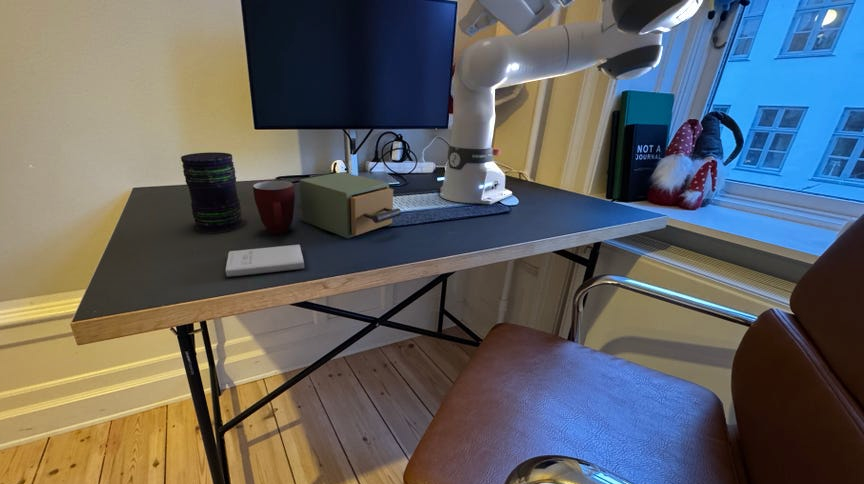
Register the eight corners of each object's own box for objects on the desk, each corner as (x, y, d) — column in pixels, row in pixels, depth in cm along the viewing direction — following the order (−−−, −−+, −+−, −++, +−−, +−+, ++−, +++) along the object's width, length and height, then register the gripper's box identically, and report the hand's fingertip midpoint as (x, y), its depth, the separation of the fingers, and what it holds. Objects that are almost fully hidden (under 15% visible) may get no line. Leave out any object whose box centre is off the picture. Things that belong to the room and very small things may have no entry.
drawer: (407, 227, 80) (408, 192, 76) (370, 241, 72) (370, 203, 69) (349, 209, 91) (348, 177, 88) (311, 219, 84) (309, 185, 80)
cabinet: (388, 224, 84) (389, 182, 80) (347, 238, 76) (346, 192, 72) (343, 209, 94) (341, 171, 90) (302, 220, 85) (299, 179, 81)
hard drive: (304, 270, 63) (226, 278, 59) (300, 251, 70) (230, 257, 66) (303, 261, 62) (224, 269, 59) (299, 243, 69) (228, 249, 66)
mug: (305, 238, 76) (301, 190, 71) (265, 244, 72) (258, 194, 68) (292, 223, 84) (288, 179, 80) (256, 227, 81) (249, 182, 76)
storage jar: (185, 227, 80) (169, 157, 73) (222, 215, 88) (210, 150, 81) (217, 236, 76) (202, 162, 69) (252, 222, 84) (243, 155, 77)
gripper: (539, -66, 40) (437, 27, 48) (578, 4, 55) (495, 65, 64) (518, -117, 40) (420, -16, 49) (562, -33, 56) (482, 32, 64)
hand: (463, 30), depth 57 cm, fingers closed
